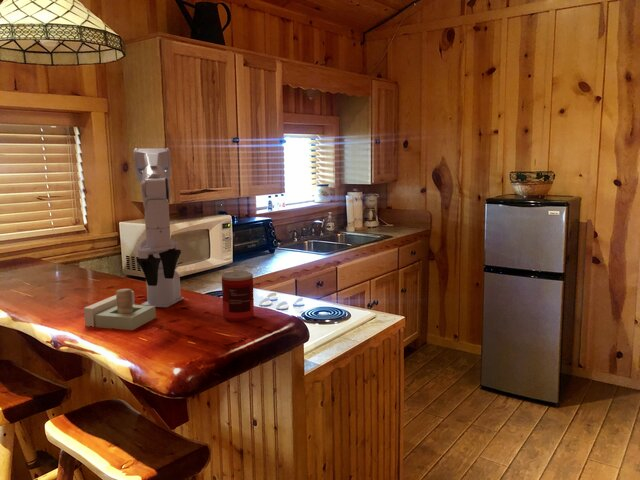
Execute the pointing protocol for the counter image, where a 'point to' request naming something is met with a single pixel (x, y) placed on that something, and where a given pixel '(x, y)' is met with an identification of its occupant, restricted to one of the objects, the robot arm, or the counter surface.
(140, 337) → the counter surface
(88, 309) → the wall board
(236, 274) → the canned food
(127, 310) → the dowel
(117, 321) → the socket block
